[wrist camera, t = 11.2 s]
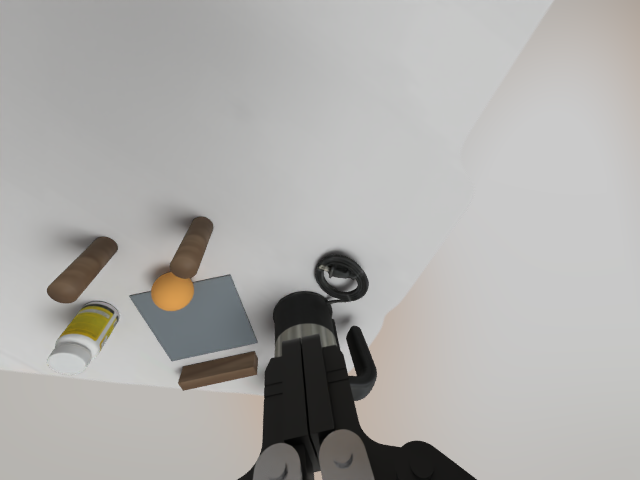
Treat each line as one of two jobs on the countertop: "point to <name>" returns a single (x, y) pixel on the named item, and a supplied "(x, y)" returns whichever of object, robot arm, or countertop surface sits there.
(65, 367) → the supplement bottle
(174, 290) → the ball
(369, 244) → the countertop surface
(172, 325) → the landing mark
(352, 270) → the milk frother
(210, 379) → the rail
